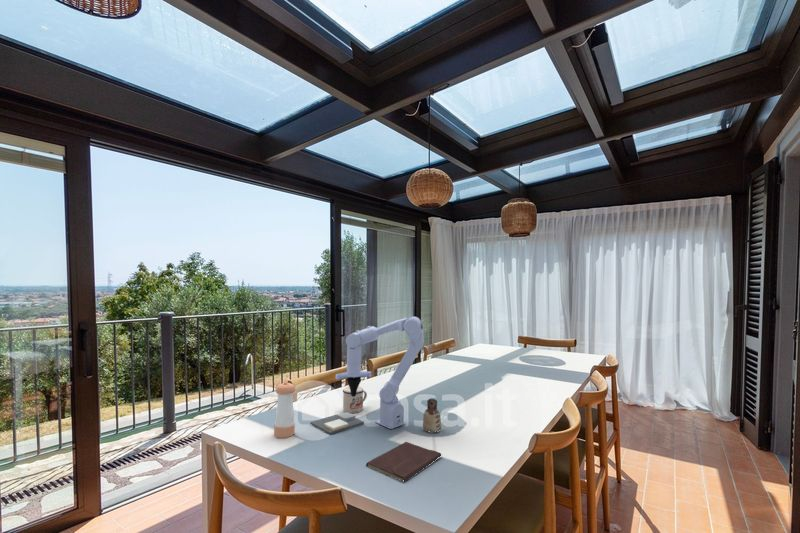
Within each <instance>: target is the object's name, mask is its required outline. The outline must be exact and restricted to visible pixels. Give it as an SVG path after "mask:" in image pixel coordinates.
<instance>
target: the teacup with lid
mask: <svg viewBox="0 0 800 533" xmlns="http://www.w3.org/2000/svg"><path fill="white" fill-rule="evenodd" d="M342 392H343V393H342V394H343V396H342V410H343V411H344V412H348V413H350V414H354V413H355V414H356V413H360V412H362V411H363V408H364V403H363V402H365V401H366V399H367V396H368V393H367V391H366V390H364V388H363V387H362V386H360V385H359V386H358V388H357V392H356V396H354V397H352V396H351V391H350V387H349V385H348V386H346V387H344V388H343V389H342Z"/></svg>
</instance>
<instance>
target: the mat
mask: <svg viewBox="0 0 800 533" xmlns="http://www.w3.org/2000/svg"><path fill="white" fill-rule="evenodd" d="M341 413H342V412H341ZM341 413H339V414H341ZM334 420H338V418H337V414H334V415H330V416H327V417H324V418H320V419H316V420H313V421H310V422H309V424H310V425H311V424H312V425H311V426H312V427H315V428H316V427H317V429H318V430H320V431H322V432H324V433H326V434H328V435H330V436H331V435H333V434H336V433H340V432H343V431H346V430H349V429H352V428H355V427H359V426H361V425H364V424H365V421H362V420H361V419H358V418H357V417H355V419H353V420H349V421H346V422H347V423H348V427H345V428H342V429H339V430H336V431H331V430H330V429H328V428H326V427H324V423H328V422H331V421H334ZM340 420H341V419H340ZM342 421H343V420H342Z"/></svg>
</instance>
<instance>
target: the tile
mask: <svg viewBox="0 0 800 533" xmlns="http://www.w3.org/2000/svg"><path fill="white" fill-rule="evenodd" d="M324 427H326V428H328V429H330V430H331V431H336V430H339V429H342V428H345V427H348V423H347V422H345V421H342V420H340V419H338V420H334V421H331V422H328V423H324Z"/></svg>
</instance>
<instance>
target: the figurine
mask: <svg viewBox="0 0 800 533" xmlns="http://www.w3.org/2000/svg"><path fill="white" fill-rule="evenodd" d="M426 402H427V403H426V407H427V409H425V411H424V412H423V418H422V419H423V420H422V430H423V429H424V430H425V431H424V430H423V431H424V432H426V431H430V432H435V431H439V430H441V431H442V422H441V420H442V419H441V413H440V411H439V410H438V400H437V399H436V398H435V397H430V398H428V399H427V401H426Z"/></svg>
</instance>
